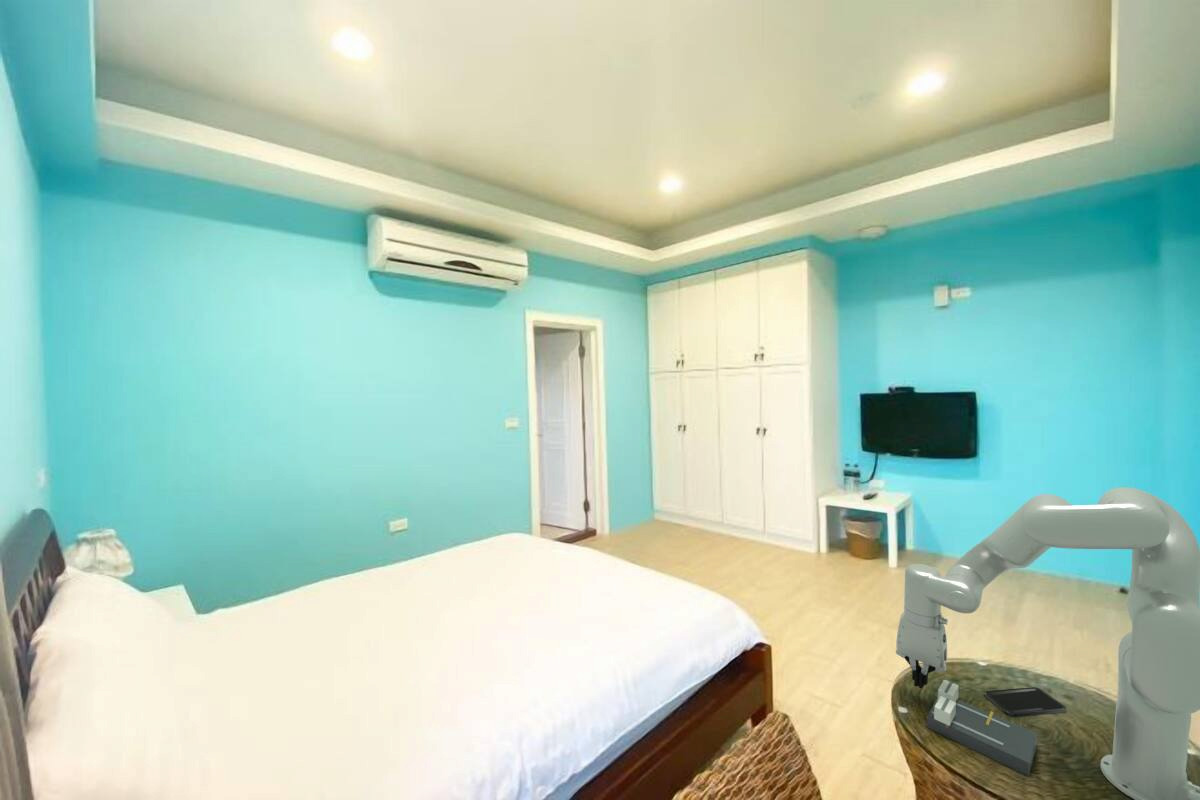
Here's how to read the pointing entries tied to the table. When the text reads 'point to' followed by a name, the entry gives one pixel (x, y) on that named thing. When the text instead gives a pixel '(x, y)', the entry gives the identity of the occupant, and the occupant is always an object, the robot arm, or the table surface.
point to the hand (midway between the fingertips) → (919, 684)
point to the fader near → (945, 710)
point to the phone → (1024, 702)
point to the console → (989, 736)
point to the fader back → (948, 690)
